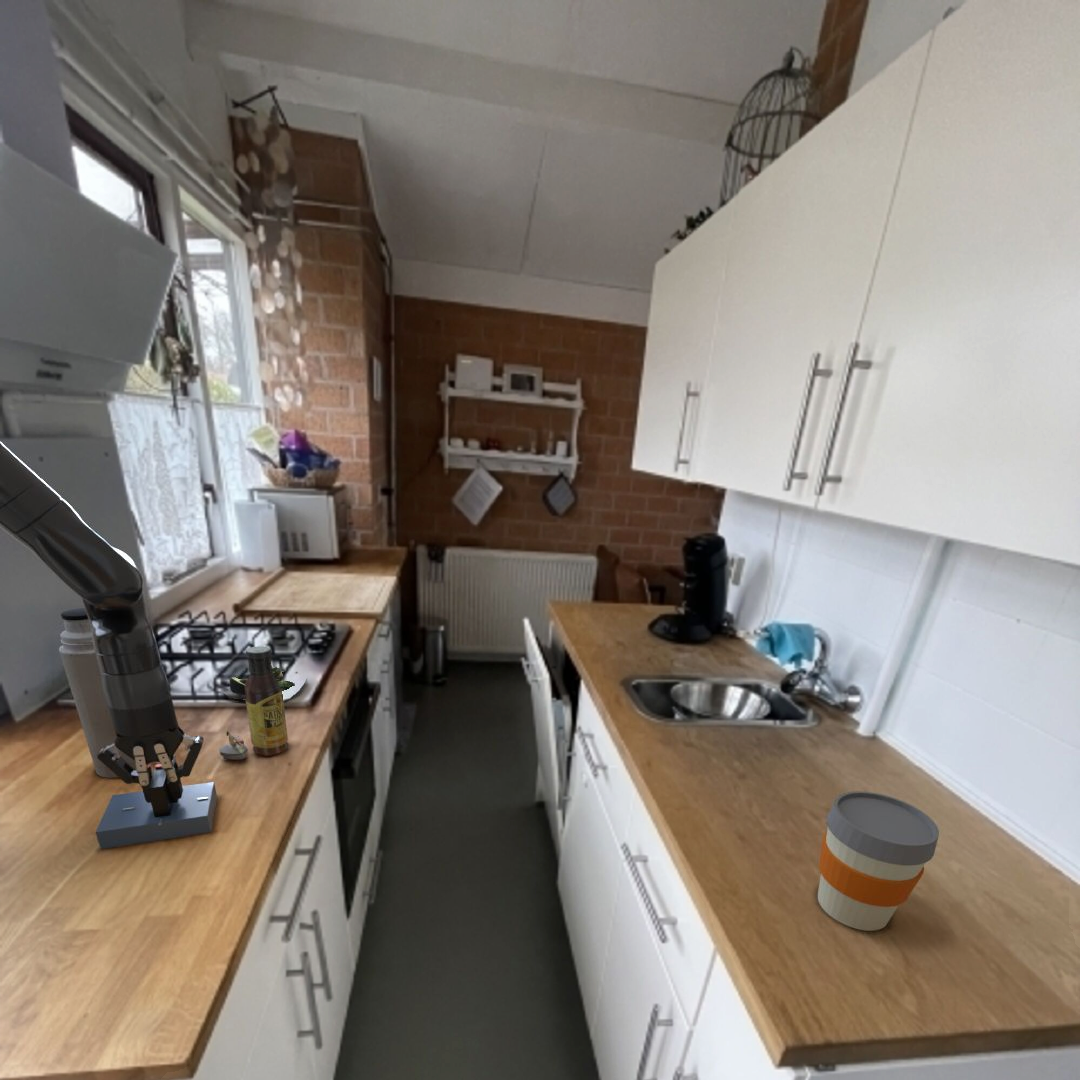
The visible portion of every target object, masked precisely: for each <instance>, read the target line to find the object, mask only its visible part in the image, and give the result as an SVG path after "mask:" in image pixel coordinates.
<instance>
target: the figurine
mask: <svg viewBox="0 0 1080 1080" xmlns="http://www.w3.org/2000/svg"><path fill="white" fill-rule="evenodd" d="M225 735H226V737H228V743H226V744H225V745H223V746H222V747H220V748H219V755H220V756H222V758H223V759H224V760H230V761H232V760H243V759H246V757H247V756H248V755H247V753H248V751H249V748H248V746H246V744H245V741H244V739H242V738H241V737H240V736H241V735H237V737H236V735H235V734H231V732H230V731H229V730H227V731H226V734H225Z"/></svg>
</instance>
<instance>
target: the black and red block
mask: <svg viewBox="0 0 1080 1080" xmlns="http://www.w3.org/2000/svg"><path fill="white" fill-rule="evenodd" d="M167 783H168V778H167V775H166V773H165V770H163V768H162V766H161V763H156V764H155V767H154V769H153V771H152V777H151V780H150V782H149V785H148V788H147V790H148V794H149V797H150V801H151V805H152V809H153V812H154V816H155V817H161V816H168V815H170V814H171V811H172V807H173V804H174V803H172V800H171V796H170V792H169V788H168V784H167Z"/></svg>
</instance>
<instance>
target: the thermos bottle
mask: <svg viewBox="0 0 1080 1080" xmlns="http://www.w3.org/2000/svg"><path fill="white" fill-rule="evenodd" d="M60 617H61V619H62V620H63V626H64V629H65V630H63V631H62V632H60V634H59V636H60V643H61V644H62V645H61V646H59V648H58V653H59V655H60V660H61V662H62V665H63V668H64V671H65V675H66V678H67V682H68V685H69V689H70V691H71V693H72V694H71V695H72V698H73V701H74V704H75V708H76V711H77V714H78V717H79V720H80V724H81V728H82V730H83V731H82V732H83V733H84V737H85V740H86V743H87V744H86V745H87V747H88V750H89V754H90V756H91V759H92V763H93V767H94V769H95V773H96V774H97V775H98V776H99V777H102V778H108V779H114V778H116V779H117V778H119V777H118V776H117V775H116V774H115V773H114V772H112V771H111V770H110V769H109V768H108V767H107V766H106V765H104V764H103V763H102V762H101V761H100V760H99V759H98V758H97V756H98V754H99V752H100V750H101V749H102V747H103V746H110V745H111V744H113V743H114V741H115V739H116V732H115V729H114V726H113V722H112V719H111V715H110V712H109V708H108V705H107V701H106V698H105V694H104V691H103V686H102V679H101V672H100V668H99V665H98V661H97V658H96V654H95V651H94V646H93V641H92V630H91V625H90V621H89V618H88V615H87V612H86V609H85V607H79V608H74V609H73V608H72V609H68V610H65V611H61V613H60ZM119 751H120V750H119ZM120 752H121V757H122V758H123V759H124V760H126V761H127V762H128V763H129V764H130V765H131V766H132V767H133V768H134V769H135V770H136V763H135V761H134V760H133V759H132V758H130V757H129V756H127V755H126V754H125V753H123V752H122V751H120ZM136 771H137V770H136Z"/></svg>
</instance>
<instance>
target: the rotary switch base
mask: <svg viewBox="0 0 1080 1080" xmlns="http://www.w3.org/2000/svg"><path fill="white" fill-rule="evenodd" d="M182 788H183V793H182V797H181V798H180V799H179V801H178V802H177V803H174V804H173V807H172V811H171V814H170V815H168V816H161V817H155V816H154V812H153V809H152V805H151V803H147V802H146V800H145V797H144V794H143V790H141V791H132V792H125V793H118V794H112V795H111V797H110V800H109V802H108V804H107V806H106V808H105V810H104V812H103V815H102V817H101V819H100V821H99V823H98V825H97V828H96V830H95V836H96V839H97V842H98V845H99V848H100V850H104V849H112V848H118V847H124V846H131V845H137V844H144V843H150V842H156V841H157V842H158V841H162V840H163V841H164V840H170V839H176V838H182V837H188V836H189V837H190V836H195V835H201V834H208V833H212V828H213V824H214V817H215V813H216V806H217V802H218V794H217V789H216V784H215V782H214V781H211V782H202V783H194V784H187V785H182Z"/></svg>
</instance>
